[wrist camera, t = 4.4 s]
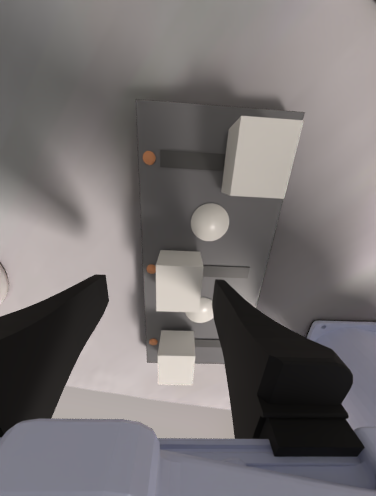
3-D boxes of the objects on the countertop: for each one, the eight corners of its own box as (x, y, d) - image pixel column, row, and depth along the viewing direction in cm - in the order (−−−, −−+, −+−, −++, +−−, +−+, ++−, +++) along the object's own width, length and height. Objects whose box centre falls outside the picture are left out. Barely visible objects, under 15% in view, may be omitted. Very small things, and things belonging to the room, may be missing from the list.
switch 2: (193, 331, 16) (195, 356, 14) (191, 358, 18) (192, 385, 15) (161, 330, 16) (157, 355, 14) (161, 357, 18) (157, 384, 15)
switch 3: (277, 132, 11) (303, 120, 8) (264, 194, 12) (284, 198, 10) (228, 129, 11) (241, 115, 8) (221, 192, 12) (230, 195, 10)
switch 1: (200, 251, 14) (203, 267, 11) (196, 291, 15) (199, 312, 13) (160, 249, 13) (155, 265, 11) (160, 289, 15) (156, 311, 12)
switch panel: (290, 119, 12) (305, 111, 11) (238, 351, 20) (242, 365, 19) (141, 108, 12) (135, 98, 10) (149, 349, 20) (146, 363, 18)
